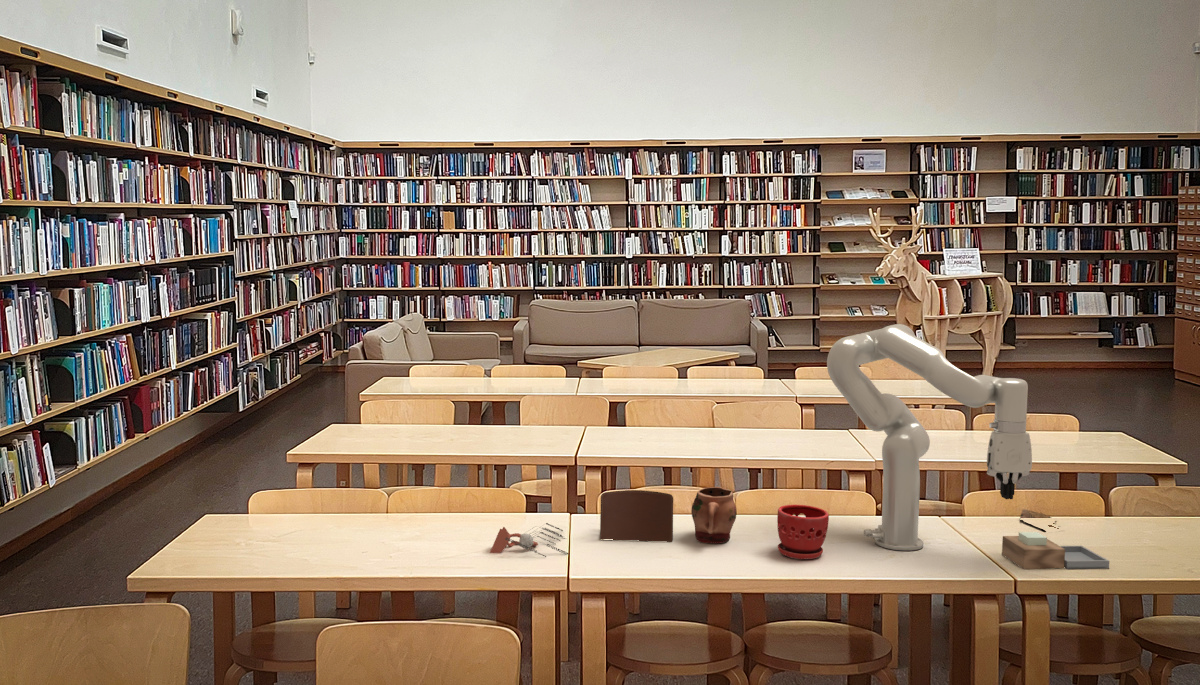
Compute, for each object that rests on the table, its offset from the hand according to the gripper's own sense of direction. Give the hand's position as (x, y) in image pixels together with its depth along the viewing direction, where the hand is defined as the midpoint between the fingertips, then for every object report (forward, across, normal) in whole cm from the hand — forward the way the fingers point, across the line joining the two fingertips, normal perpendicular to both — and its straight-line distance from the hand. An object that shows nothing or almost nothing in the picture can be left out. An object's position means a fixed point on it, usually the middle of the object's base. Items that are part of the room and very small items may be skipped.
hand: (1007, 497), depth 262 cm
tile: (+12, +7, 0) cm, 14 cm away
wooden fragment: (+17, +28, +38) cm, 51 cm away
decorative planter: (+17, -72, +21) cm, 77 cm away
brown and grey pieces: (+17, -120, +20) cm, 122 cm away
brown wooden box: (+17, +8, 0) cm, 18 cm away
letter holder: (+17, -92, +27) cm, 97 cm away
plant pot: (+17, -51, +8) cm, 54 cm away
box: (+17, +19, 0) cm, 25 cm away
